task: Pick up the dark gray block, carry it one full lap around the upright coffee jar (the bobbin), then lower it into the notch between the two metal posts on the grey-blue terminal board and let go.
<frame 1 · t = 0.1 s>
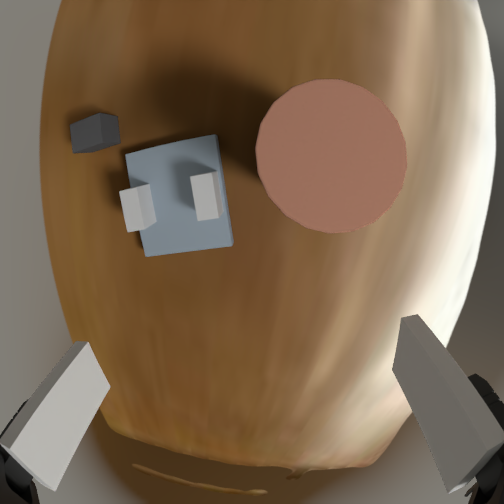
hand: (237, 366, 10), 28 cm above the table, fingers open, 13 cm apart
dark gray block: (104, 134, 34), on the table
coffee jar: (300, 156, 34), on the table
board: (180, 196, 36), on the table
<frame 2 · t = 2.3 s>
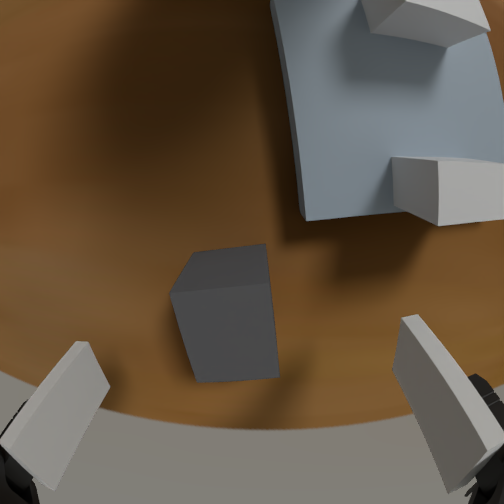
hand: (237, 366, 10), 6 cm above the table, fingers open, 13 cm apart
dark gray block: (235, 288, 17), on the table
board: (406, 100, 13), on the table
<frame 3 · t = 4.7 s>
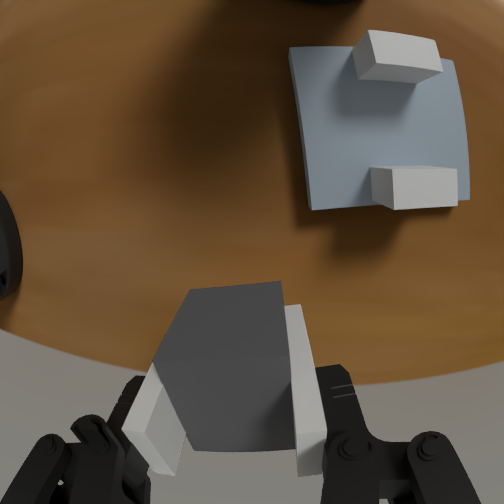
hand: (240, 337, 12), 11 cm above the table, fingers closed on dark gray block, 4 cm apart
dark gray block: (242, 333, 13), point 11 cm above the table, touching gripper
board: (385, 125, 19), on the table
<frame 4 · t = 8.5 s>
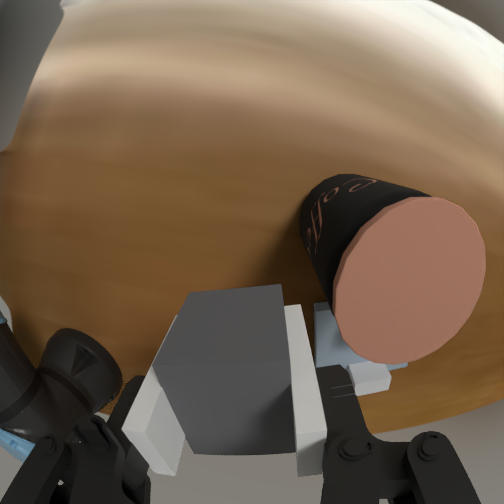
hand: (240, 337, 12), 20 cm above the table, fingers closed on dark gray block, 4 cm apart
dark gray block: (242, 336, 13), point 20 cm above the table, touching gripper
coffee jar: (344, 219, 31), on the table
board: (364, 334, 36), on the table
when the fingers open (3 cm above the table, at t = 12.3 s): dark gray block stays where it is, resting on board.
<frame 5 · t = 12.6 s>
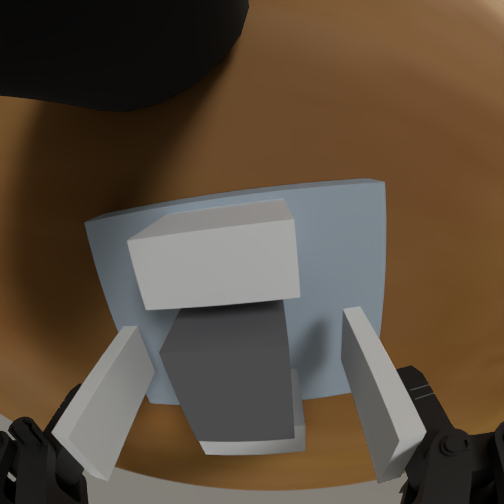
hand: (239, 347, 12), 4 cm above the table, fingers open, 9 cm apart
dark gray block: (243, 327, 14), point 2 cm above the table, touching board
coffee jar: (150, 27, 11), on the table
board: (244, 303, 15), on the table
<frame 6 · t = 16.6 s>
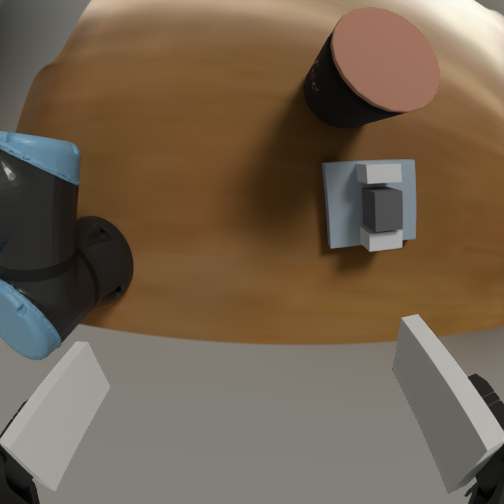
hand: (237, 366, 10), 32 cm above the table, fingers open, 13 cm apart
dark gray block: (375, 204, 37), point 2 cm above the table, touching board
coffee jar: (339, 94, 35), on the table
board: (370, 200, 39), on the table
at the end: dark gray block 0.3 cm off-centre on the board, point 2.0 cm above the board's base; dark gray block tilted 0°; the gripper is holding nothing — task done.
